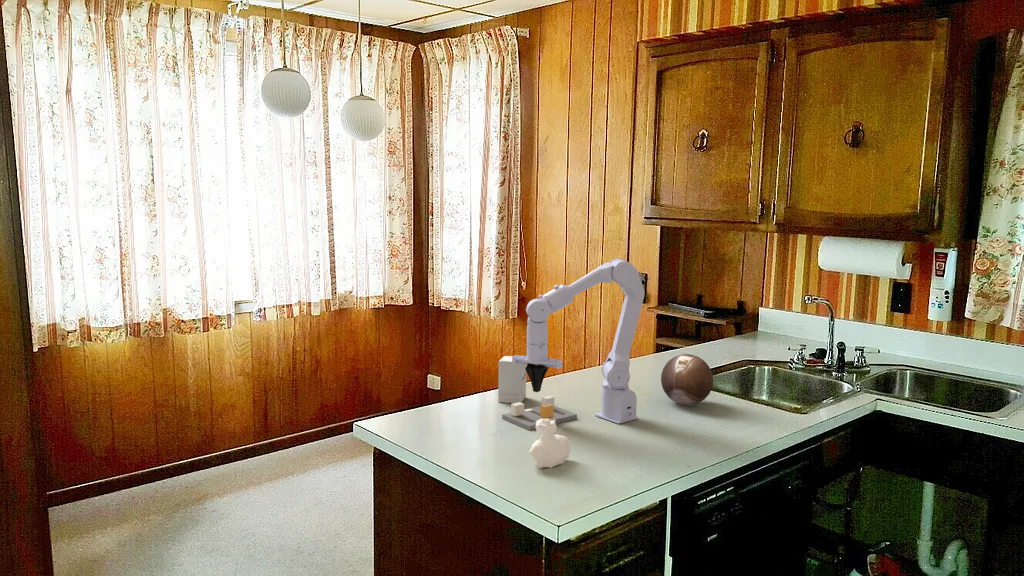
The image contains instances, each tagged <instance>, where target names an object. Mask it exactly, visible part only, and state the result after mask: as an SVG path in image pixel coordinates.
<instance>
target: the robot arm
mask: <svg viewBox="0 0 1024 576" xmlns="http://www.w3.org/2000/svg"><path fill="white" fill-rule="evenodd" d="M613 282H615V283H616V284H617V285H618V286H619V288H620V289H621V290H622V292H623V294H624V300H623V303H622V307H621V312H620V316H619V320H618V325H617V328H616V331H615V335H614V339H613V344H612V349H611V350H610V352H609V353H608V356H607V359H606V360H605V361H604V362H603V364H602V366H601V374H602V376H603V377H604V380H603V382H602V384H601V411H600V412H596V413H594V416H595V417H598V418H601V419H604V420H607V421H610V422H612V423H615V424H619V425H620V424H623V423H627V422H631V421H634V420H637V419H639V416H637V404H638V403H637V401H638V400H637V399H638V398H637V394H636V392H635V391H633V390H632V389H631V388H630V387H629V382H630V379H631V374H630V366H631V363H630V360H631V359H630V357H631V355H630V354H631V350H632V347H633V343H634V338H635V334H636V331H637V326H638V322H639V318H640V315H641V311H642V306H643V303H644V299H645V292H646V291H645V288H644V285H643V283H642V280H641V276H640V272H639V270H638V269H637V267H635V265H634V264H633V263H631V262H629V261H626V260H625V259H624V258H620V257H619V258H618V257H617V258H614V259H612V260H610V262H609V261H608V262H605V263H603V264H601V265H599V266H597V267H596V268H595V269H593V270H592V271H590V272H588V273H587V274H584V276H582V277H580V278H578V279H577V280H575V281H574V282H572V283H570V284H569V285H566V284H560V285H559V284H556V285H554V286H553V289H551V290H549V291H548V292H546V293H543V294H539V295H538V298H534V299H531V300H530V301H528V302H527V303H528V304H526V308H525V312H526V315H527V316H528V317H527V320H526V323H527V326H526V355H516V354H515V355H513V357H512V363H514V364H516V363H520V364H526V367H525V370H526V375H528V377H529V381H530V384H531V389H532V392H533V393H538V392H541V390H542V386H543V382H544V379H545V377H546V375H547V372H548V370H549V368H554V369H556V370H560V369H563V364H564V361H563V360H558V359H555V358H550V357H548V350H549V349H548V344H549V342H548V341H549V340H548V335H549V333H548V332H549V331H548V330H549V328H548V327H549V326H548V319H549V316H550V315H551V314H552V315H553V314H555V313H556V312H558V311H560V310H562V309H564V308H565V307H568V305H570V304H572V303H573V301H574V298H575V296H578V295H579V294H581V293H583V292H586V291H587V290H589V289H590V288H592V287H595V286H596V285H598V284H600V283H605V284H606V283H607V284H613Z"/></svg>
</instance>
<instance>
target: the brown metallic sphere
mask: <svg viewBox="0 0 1024 576" xmlns="http://www.w3.org/2000/svg"><path fill="white" fill-rule="evenodd" d="M660 383H661V387H662V390H663V392H664V393H665V395H666V396H667V398H669V399H670V400H671V401H673V402H674V403H676V404H679V405H681V406H682V405H683V406H694V405H697V404H700V403H701V402H703V401H705V399H707V398H708V397H709V395H710V393H711V391H712V390H713V386H714V375H713V372H712V370H711V367H710V365H708V363H707V362H706V361H705V360H703V359H702V358H701V357H700V356H697V355H695V354H687V353H685V354H678V355H675V356H674V357H672V358H671V359H669V360H668V361H667V362H666V363H665V365H664V366H663V368H662V371H661V375H660Z"/></svg>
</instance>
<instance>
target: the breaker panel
mask: <svg viewBox="0 0 1024 576" xmlns="http://www.w3.org/2000/svg"><path fill="white" fill-rule="evenodd" d="M546 404H550V405H553V406H554V413H553V417H548V418H549V420H551V421H553V420H556V421H555V423H556V425H557V424H560V423H565V422H568V421H573V420H576V419H578V414H577V413H575V412H572V411H570V410H566V409H563V408H561V407H559V406H555V397H554V396H552V395H546V396H541V405H539V406H533V407H529V408H527V409H525V403H523V402H522V403H521V402H518V403H510V412H508V413H503V414H502V415H501V419H502V420H504V421H507V422H508V421H509V423H511V424H514V425H516V426H518V427H520V428H523V429H525V430H528V431H532V430H536V428H535V427H536V421H537V420H539V419H541V418H543V417H540V406H542V405H546ZM548 418H543V419H548Z"/></svg>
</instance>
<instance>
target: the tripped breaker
mask: <svg viewBox="0 0 1024 576" xmlns="http://www.w3.org/2000/svg"><path fill="white" fill-rule="evenodd" d="M539 406H540V417H543V418H548V417H553V413H554V406H555V405H554V406H553V405H550V404H546V405H542V404H541V405H539Z"/></svg>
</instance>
